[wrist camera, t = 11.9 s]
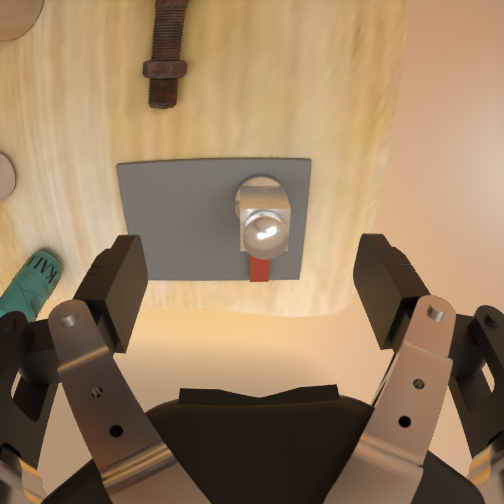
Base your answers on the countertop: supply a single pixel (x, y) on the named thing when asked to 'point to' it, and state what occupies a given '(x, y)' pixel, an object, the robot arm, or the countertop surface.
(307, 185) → the tool mat
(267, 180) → the ratchet
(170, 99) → the bolt
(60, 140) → the countertop surface
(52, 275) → the beverage bottle
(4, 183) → the can
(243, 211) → the metal block with knob
